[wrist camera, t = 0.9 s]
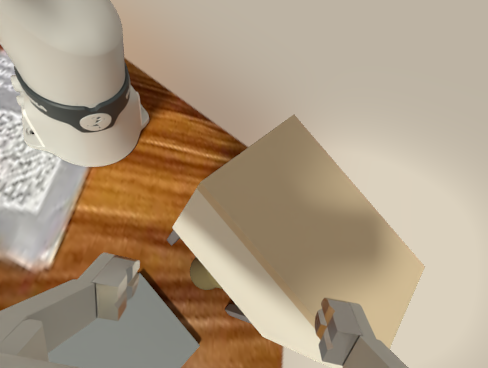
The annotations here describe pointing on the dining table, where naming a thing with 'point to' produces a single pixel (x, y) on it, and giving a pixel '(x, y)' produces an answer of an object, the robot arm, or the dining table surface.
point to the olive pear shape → (202, 276)
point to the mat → (130, 337)
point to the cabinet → (296, 241)
